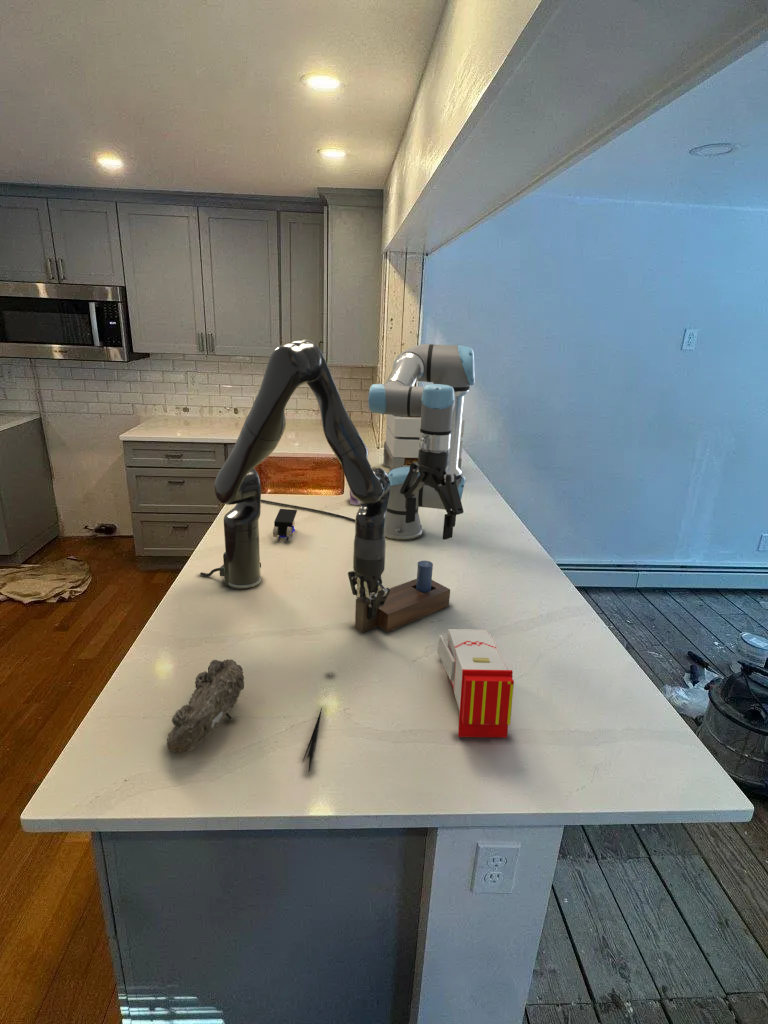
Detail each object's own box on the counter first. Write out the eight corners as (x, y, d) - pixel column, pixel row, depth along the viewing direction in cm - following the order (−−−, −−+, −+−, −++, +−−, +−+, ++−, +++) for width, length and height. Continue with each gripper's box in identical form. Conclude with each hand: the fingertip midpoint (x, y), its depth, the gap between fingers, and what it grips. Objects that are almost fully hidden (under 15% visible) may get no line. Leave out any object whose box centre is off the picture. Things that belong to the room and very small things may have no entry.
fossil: (192, 660, 117) (244, 628, 112) (224, 691, 120) (276, 661, 115) (142, 746, 98) (202, 712, 93) (182, 779, 101) (242, 748, 96)
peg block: (346, 621, 143) (347, 593, 140) (422, 591, 160) (424, 565, 157) (371, 639, 136) (372, 609, 133) (448, 605, 153) (451, 579, 150)
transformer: (382, 463, 289) (386, 382, 275) (445, 464, 293) (451, 384, 279) (390, 482, 257) (394, 392, 243) (460, 483, 261) (468, 394, 247)
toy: (488, 613, 130) (523, 677, 101) (484, 667, 133) (517, 744, 104) (435, 612, 130) (455, 676, 101) (432, 666, 133) (451, 743, 103)
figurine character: (292, 547, 188) (298, 526, 201) (292, 527, 184) (297, 507, 198) (272, 547, 187) (279, 526, 201) (271, 526, 184) (278, 506, 197)
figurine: (353, 507, 224) (354, 470, 219) (343, 499, 232) (343, 463, 227) (374, 504, 228) (376, 468, 223) (364, 496, 237) (365, 462, 231)
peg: (411, 603, 153) (414, 562, 149) (422, 599, 156) (425, 559, 152) (422, 609, 150) (425, 568, 146) (432, 604, 153) (436, 564, 149)
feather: (331, 679, 122) (336, 673, 122) (307, 777, 96) (313, 769, 95) (324, 675, 122) (329, 669, 121) (298, 772, 95) (304, 764, 95)
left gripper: (338, 546, 137) (337, 609, 142) (376, 566, 127) (373, 633, 133) (363, 539, 141) (361, 600, 147) (401, 558, 131) (397, 623, 137)
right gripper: (389, 440, 145) (385, 518, 152) (461, 463, 127) (453, 549, 135) (410, 437, 150) (406, 512, 157) (483, 458, 132) (474, 542, 140)
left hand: (367, 615), depth 140 cm, fingers closed on peg block, 3 cm apart
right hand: (428, 529), depth 146 cm, fingers open, 13 cm apart
